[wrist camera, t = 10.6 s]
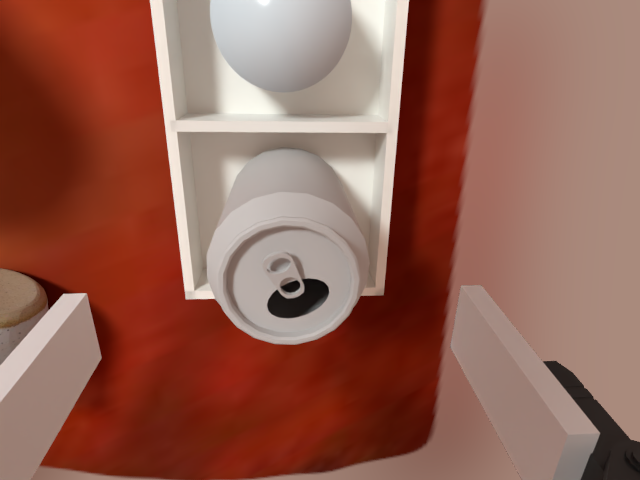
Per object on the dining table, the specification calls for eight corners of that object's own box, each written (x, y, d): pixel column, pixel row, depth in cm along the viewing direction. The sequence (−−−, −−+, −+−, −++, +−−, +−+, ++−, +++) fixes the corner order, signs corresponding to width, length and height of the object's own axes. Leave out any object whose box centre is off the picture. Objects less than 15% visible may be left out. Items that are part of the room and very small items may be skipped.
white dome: (216, -51, 24) (203, -70, 20) (345, -47, 24) (355, -64, 20) (225, 86, 26) (215, 91, 23) (340, 87, 27) (348, 93, 23)
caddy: (159, -96, 23) (135, -124, 20) (398, -87, 24) (418, -111, 21) (197, 270, 32) (185, 299, 28) (373, 268, 33) (383, 295, 29)
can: (261, 265, 31) (247, 381, 20) (211, 171, 28) (164, 247, 17) (358, 226, 31) (399, 324, 20) (318, 125, 28) (339, 174, 17)
